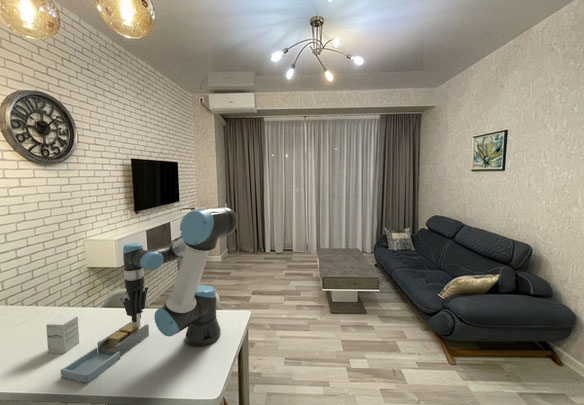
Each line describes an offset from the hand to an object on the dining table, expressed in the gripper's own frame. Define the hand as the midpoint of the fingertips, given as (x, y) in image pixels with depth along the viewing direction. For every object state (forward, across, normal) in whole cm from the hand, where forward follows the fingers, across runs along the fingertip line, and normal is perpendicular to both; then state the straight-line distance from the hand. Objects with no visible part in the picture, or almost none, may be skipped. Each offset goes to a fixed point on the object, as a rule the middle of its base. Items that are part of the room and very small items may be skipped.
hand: (136, 327), depth 117 cm
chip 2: (+1, +4, 0) cm, 4 cm away
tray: (+4, +21, 0) cm, 21 cm away
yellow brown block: (+1, +10, 0) cm, 10 cm away
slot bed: (+4, +6, 0) cm, 8 cm away
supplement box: (+4, +15, -23) cm, 27 cm away
